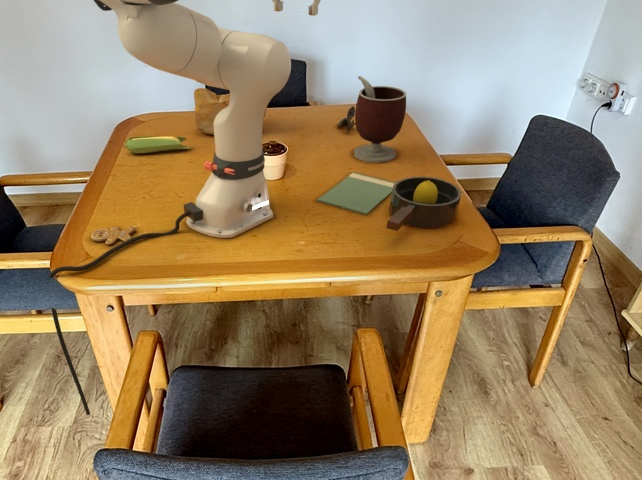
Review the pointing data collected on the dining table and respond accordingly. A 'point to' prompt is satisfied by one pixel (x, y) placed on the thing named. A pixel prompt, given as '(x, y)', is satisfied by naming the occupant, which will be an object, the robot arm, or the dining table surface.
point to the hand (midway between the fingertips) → (295, 12)
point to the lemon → (426, 193)
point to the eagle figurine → (348, 120)
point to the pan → (425, 213)
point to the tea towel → (358, 193)
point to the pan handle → (400, 217)
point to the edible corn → (154, 144)
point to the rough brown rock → (208, 108)
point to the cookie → (112, 235)
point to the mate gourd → (378, 120)
